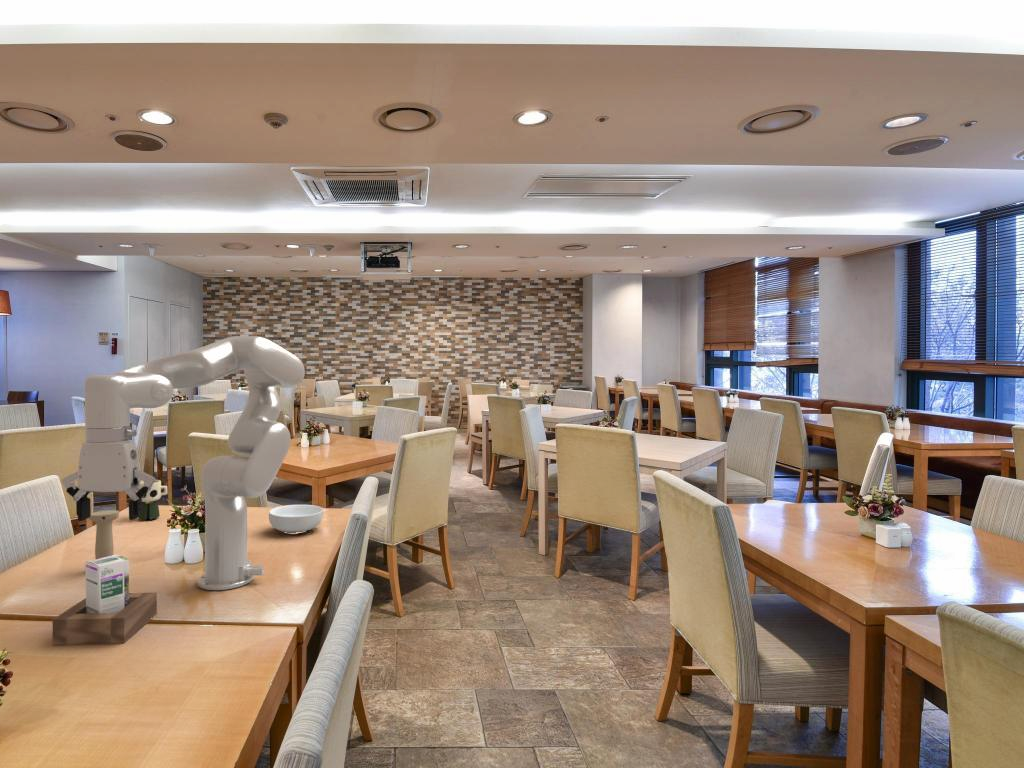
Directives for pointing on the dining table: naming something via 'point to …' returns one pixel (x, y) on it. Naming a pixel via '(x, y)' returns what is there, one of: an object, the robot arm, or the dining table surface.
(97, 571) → the syrup box
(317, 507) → the cereal bowl
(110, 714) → the dining table surface
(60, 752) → the dining table surface
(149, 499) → the character mug
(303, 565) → the dining table surface
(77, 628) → the socket
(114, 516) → the handle
